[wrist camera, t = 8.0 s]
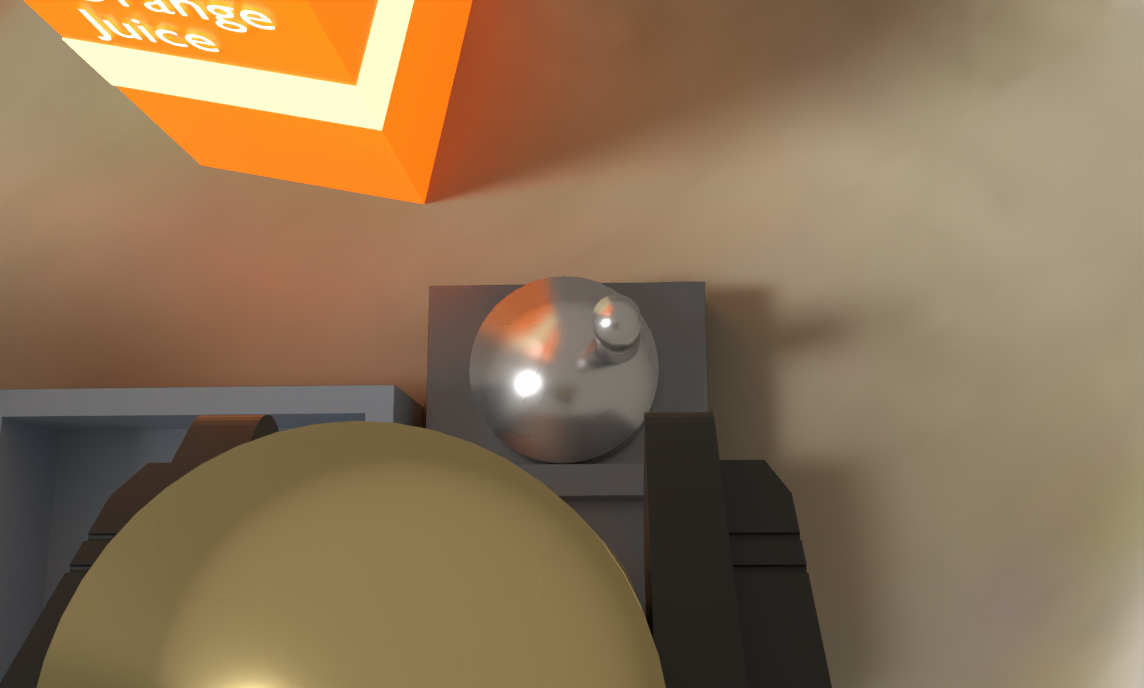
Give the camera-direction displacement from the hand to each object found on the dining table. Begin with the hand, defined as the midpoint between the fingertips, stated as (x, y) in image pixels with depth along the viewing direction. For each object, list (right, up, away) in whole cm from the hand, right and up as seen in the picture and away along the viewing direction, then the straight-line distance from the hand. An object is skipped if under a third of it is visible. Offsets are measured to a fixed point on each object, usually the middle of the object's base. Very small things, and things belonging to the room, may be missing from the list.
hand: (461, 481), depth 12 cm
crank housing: (+1, -4, +20) cm, 20 cm away
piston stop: (0, -3, +3) cm, 4 cm away
